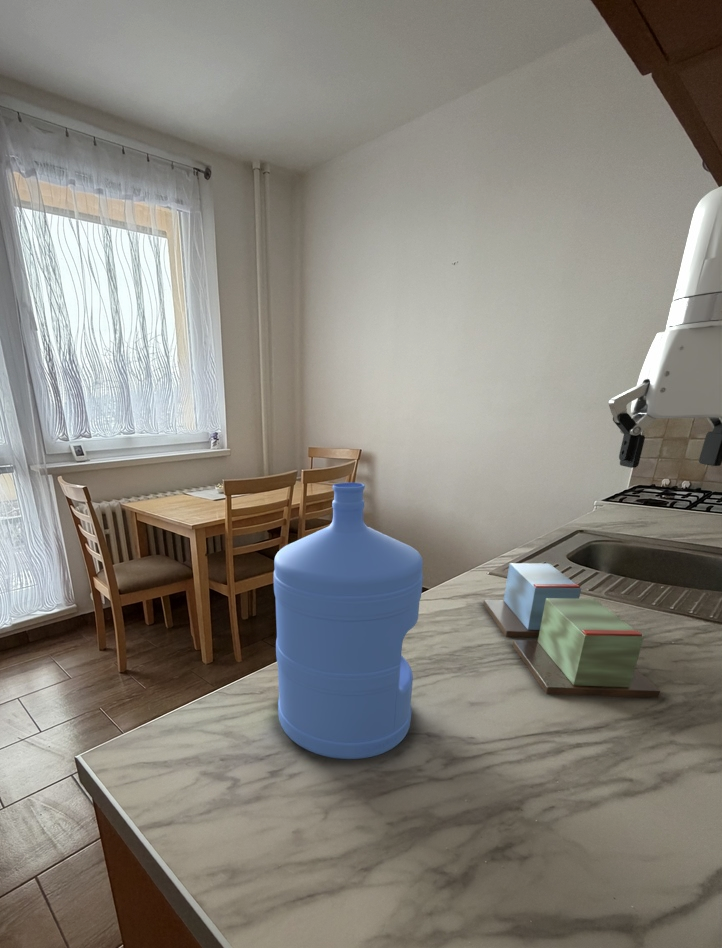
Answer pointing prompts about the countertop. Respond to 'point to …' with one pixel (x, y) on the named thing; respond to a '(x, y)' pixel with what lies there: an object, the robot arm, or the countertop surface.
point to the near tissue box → (589, 642)
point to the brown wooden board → (560, 684)
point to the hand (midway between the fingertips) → (668, 465)
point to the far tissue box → (535, 590)
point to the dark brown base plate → (508, 619)
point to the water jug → (345, 634)
